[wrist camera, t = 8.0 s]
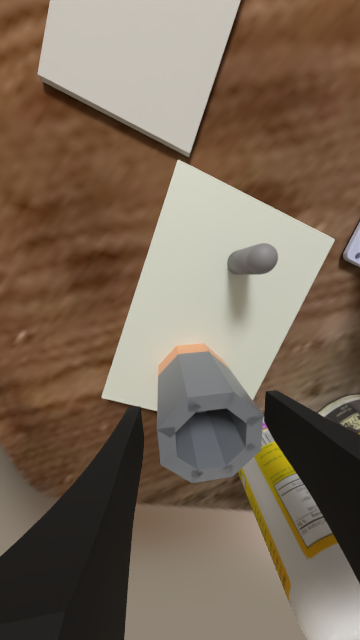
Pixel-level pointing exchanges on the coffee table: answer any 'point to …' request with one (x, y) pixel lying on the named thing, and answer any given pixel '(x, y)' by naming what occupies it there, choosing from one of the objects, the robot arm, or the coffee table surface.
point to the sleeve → (204, 416)
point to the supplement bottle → (302, 547)
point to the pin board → (214, 285)
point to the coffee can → (344, 412)
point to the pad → (139, 60)
